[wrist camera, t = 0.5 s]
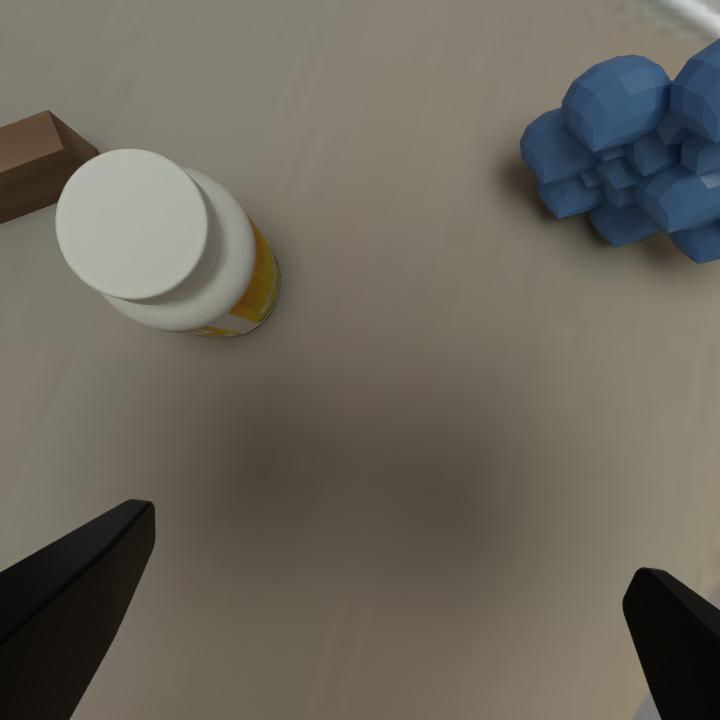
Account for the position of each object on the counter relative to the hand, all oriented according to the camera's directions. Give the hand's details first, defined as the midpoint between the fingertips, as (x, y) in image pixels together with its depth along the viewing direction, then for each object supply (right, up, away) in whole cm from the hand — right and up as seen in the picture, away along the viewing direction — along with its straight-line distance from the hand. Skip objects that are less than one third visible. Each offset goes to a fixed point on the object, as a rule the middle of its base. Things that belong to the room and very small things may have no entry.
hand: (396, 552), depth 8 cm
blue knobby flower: (+11, +11, +14) cm, 21 cm away
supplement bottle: (-7, +7, +13) cm, 17 cm away
